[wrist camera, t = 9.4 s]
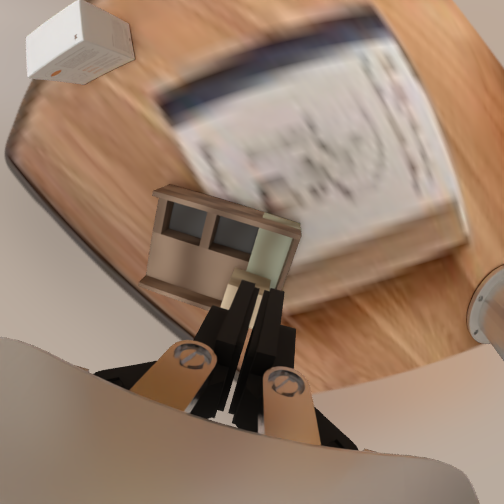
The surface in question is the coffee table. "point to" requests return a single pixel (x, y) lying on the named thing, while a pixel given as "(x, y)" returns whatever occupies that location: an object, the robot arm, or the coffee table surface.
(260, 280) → the birch block
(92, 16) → the small box
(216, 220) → the box
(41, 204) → the coffee table surface
